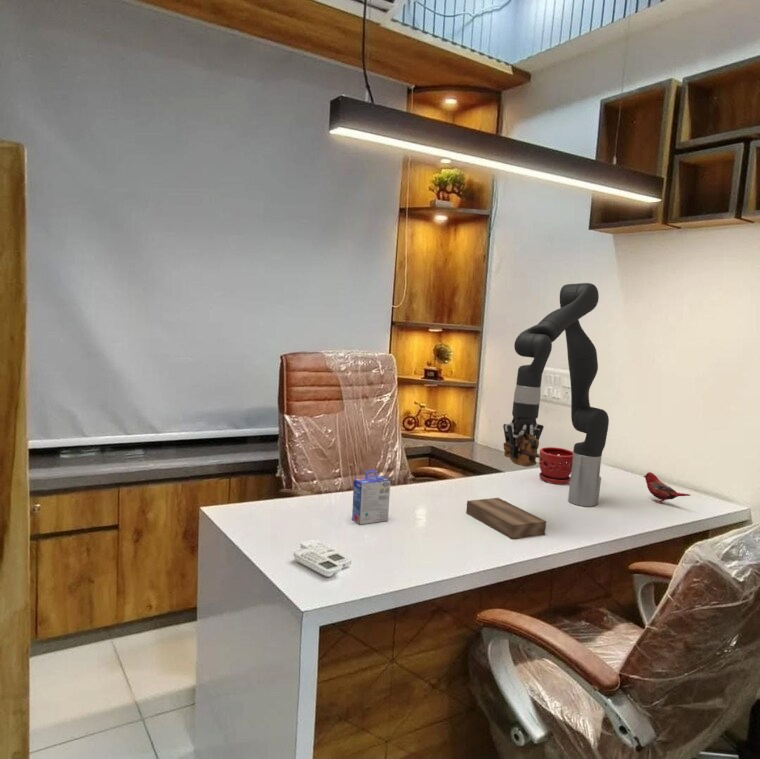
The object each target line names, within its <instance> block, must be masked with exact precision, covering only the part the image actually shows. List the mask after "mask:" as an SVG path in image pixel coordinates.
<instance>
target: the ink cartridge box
mask: <svg viewBox="0 0 760 759" xmlns="http://www.w3.org/2000/svg"><path fill="white" fill-rule="evenodd" d="M364 473H365V474H364V475H365V477H362V478H355V479H353V488H352V489H353V492H352V493H353V494H352V514H351V520H352V521H354V522H355V523H356V524H358V525H367V524H374V523H381V522H387V521H389V513H390V512H389V510H390V509H389V508H390V496H391V493H390V491H391V480H390V479H389V478H386V477H385V476H383V475H381V476H379V475H377V471H376V469H370V470H364ZM370 473H373V474H371V475H368V474H370Z"/></svg>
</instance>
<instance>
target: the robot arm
mask: <svg viewBox="0 0 760 759" xmlns="http://www.w3.org/2000/svg"><path fill="white" fill-rule="evenodd" d="M599 296H600V294H599V290H598V288H597V286H596V285H595V284H592V283H589V282H588V283H587V282H581V283H567V284H564V285H563V286H562V287H561V288H560V290H559V305H560V308H557V309H555V310H553V311H552V312H550V313H548V314H547V315H545V316H544V318H542V319H541V320H540V321H539V322H538V323H537V324H535V325H533V326H531V327H529V328H526V329H524V330H523V331H522V332H520V333H519V334H518V335H517V337H516V338H515V341H514V351H515V353H517V355H519V356H520V357H524V358H531V359H533V360H532V362H531V363H530V364H524V365H520V366H519V367H518V368H517V369H518V370H517V375H516V383H515V384H516V385H515V389H514V392H513V394H514V395H513V402H512V412H511V414H512V420H511V422H510V423H508V424H507V423H503V425H502V427H503V432H504V440H505V442H506V443H509V444H510V445H511V451H510V456H511V458H514V459H517V458H518V449H519V447H518V445H519V441H520V440H521V439H522V437H523V435H525V434H526V433H527V434H531V435H533V436H534V437H535V438H536V439H537V440H539V441H540V437H541V435H542V432H543V430H544V425H543V424H539V423H537V419H538V417H539V411H540V404H541V403H540V402H541V387H542V378H543V373H544V371H545V370H544V369H545V367H546V364H547V362H548V360H549V357H550V355H551V353H552V348H553V342H555V341H556V340H557V339H558V337H560V336H561V334H563V332H565V340H566V350H567V351H566V352H567V362H568V371H569V380H570V395H571V398H570V400H571V401H570V402H571V403H570V404H571V405H570V407H571V408H570V410H571V411H570V413H571V415H570V416H571V425H572V427H573V429H574V430H576V431H578V432H580V433H583V434H585V438H584V440H583V441H582V442H581V441H580V442H577V443H574V445H573V451H572V452H573V459H572V469H571V474H570V481H569V486H568V488H569V489H568V497H567V500H568V502H569V503H571V504H572V505H577V506H579V507H580V506H581V507H595V506H596V505H598V504H599V501H600V491H601V483H602V477H601V476H600V475H601V474H600V473H601V466H602V464H601V463H602V456H603V452H604V449H605V446H606V443H607V436H608V430H609V422H610V419H609V415H608V412H606V410H605V409H603V408H599V407H594V406H591V404H590V389H591V386H592V384H593V382H594V379H595V378H596V376H597V373H598V370H599V364H598V362H599V361H598V352H597V348H596V346H595V344H594V343H593V342H592V340H591V339H590V337H589V336H588V335H587V333H586V332H585V331H584V329H583V327H582V325H581V323H580V319H581V318H583V317H585V316H586V315H587V314H589V313H590V312H592V311H593V310H595V308H596V307H597V305H598V304H599V303H598V302H599ZM516 434H518V436H517V435H516ZM515 440H516V441H515Z"/></svg>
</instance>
